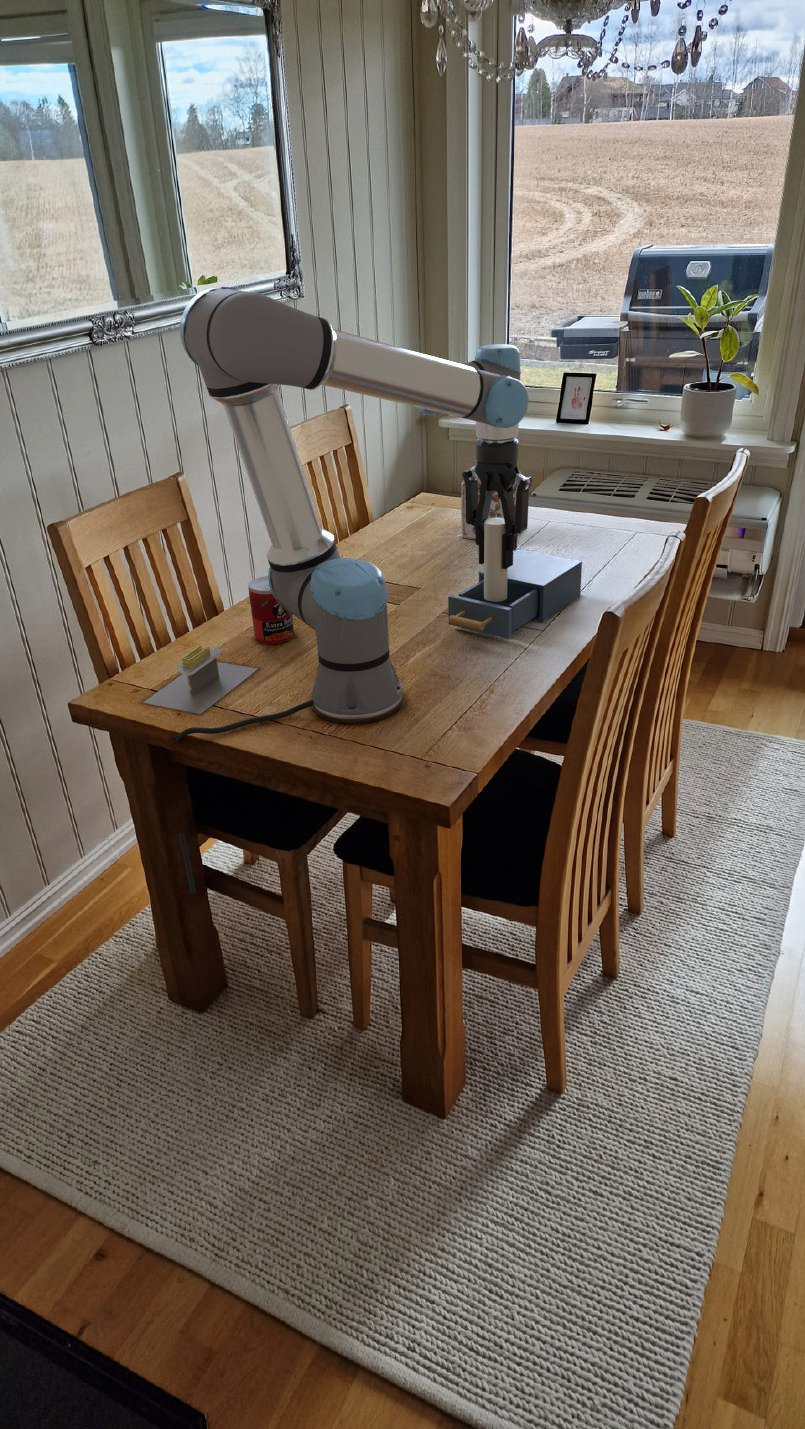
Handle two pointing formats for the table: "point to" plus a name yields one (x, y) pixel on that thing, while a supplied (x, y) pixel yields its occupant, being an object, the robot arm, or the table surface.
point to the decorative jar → (495, 506)
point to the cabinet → (546, 579)
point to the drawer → (494, 609)
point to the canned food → (268, 614)
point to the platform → (200, 682)
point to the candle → (494, 561)
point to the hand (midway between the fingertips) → (495, 564)
